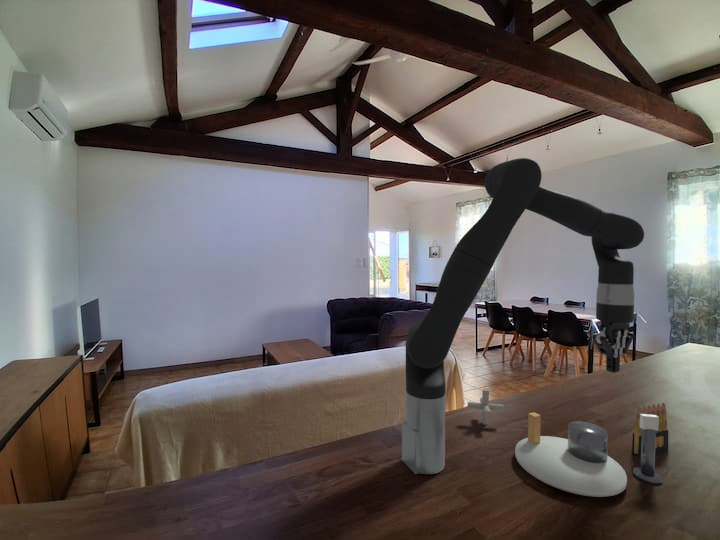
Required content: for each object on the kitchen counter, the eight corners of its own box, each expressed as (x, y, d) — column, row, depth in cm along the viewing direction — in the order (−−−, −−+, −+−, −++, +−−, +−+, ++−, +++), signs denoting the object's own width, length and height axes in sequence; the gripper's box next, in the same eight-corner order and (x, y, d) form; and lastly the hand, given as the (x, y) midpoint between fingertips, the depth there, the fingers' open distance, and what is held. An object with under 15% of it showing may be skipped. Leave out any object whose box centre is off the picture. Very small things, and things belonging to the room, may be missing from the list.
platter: (582, 509, 66) (583, 467, 66) (495, 450, 86) (495, 418, 86) (650, 480, 75) (651, 443, 75) (556, 433, 95) (557, 404, 95)
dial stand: (653, 471, 80) (655, 411, 79) (667, 485, 75) (669, 421, 75) (628, 469, 81) (630, 409, 80) (641, 482, 76) (643, 419, 76)
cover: (593, 466, 78) (593, 440, 78) (560, 448, 85) (560, 424, 85) (615, 458, 81) (616, 433, 81) (581, 442, 89) (582, 418, 88)
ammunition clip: (639, 456, 86) (640, 409, 86) (631, 452, 88) (632, 405, 87) (668, 449, 89) (670, 403, 89) (660, 445, 91) (661, 400, 91)
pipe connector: (506, 433, 97) (507, 398, 97) (469, 429, 99) (470, 395, 99) (499, 417, 107) (500, 385, 107) (466, 414, 109) (466, 382, 109)
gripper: (614, 305, 80) (612, 379, 80) (648, 302, 85) (645, 372, 86) (581, 301, 87) (580, 370, 87) (615, 299, 92) (613, 364, 92)
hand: (612, 371), depth 86 cm, fingers closed
